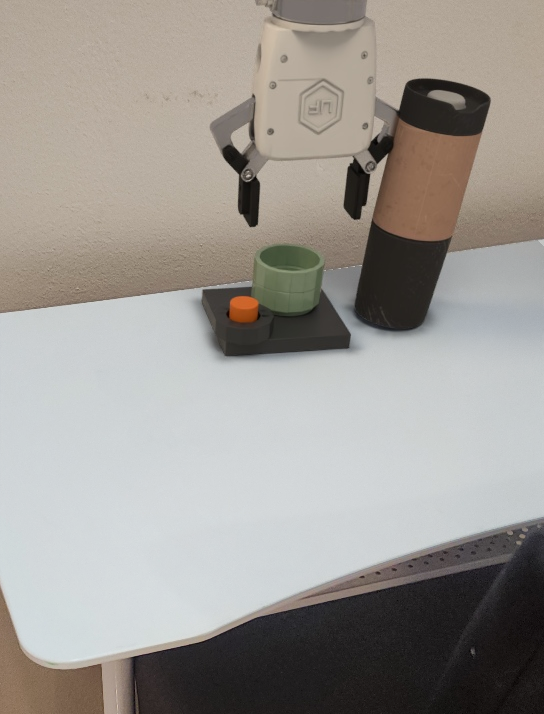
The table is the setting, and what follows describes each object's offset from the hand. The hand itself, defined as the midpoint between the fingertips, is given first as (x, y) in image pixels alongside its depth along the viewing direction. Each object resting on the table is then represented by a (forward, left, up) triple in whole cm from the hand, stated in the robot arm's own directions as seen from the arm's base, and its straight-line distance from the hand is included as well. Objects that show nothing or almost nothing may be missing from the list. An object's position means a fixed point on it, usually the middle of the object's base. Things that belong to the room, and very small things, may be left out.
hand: (301, 217), depth 91 cm
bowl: (+1, 0, -8) cm, 8 cm away
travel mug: (-10, +1, -10) cm, 14 cm away
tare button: (+6, +5, -7) cm, 10 cm away
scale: (+2, +1, -10) cm, 10 cm away
